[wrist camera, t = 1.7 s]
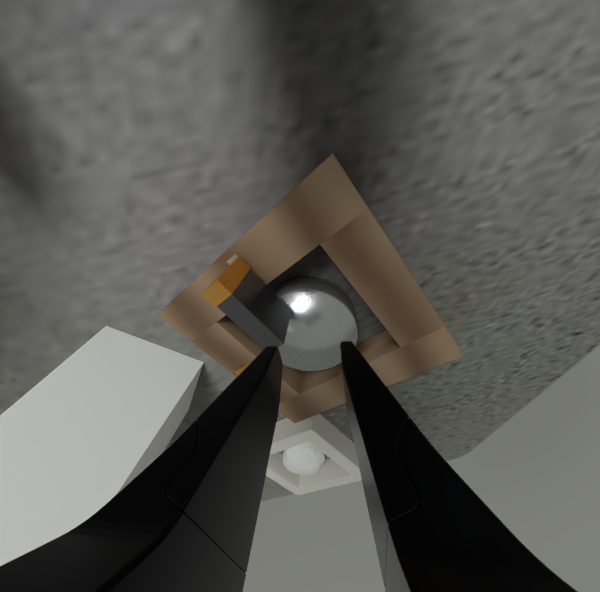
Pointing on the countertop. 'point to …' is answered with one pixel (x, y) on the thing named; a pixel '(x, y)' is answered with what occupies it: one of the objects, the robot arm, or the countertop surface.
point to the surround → (356, 268)
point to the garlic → (303, 459)
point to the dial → (287, 315)
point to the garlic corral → (327, 440)
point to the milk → (87, 435)
